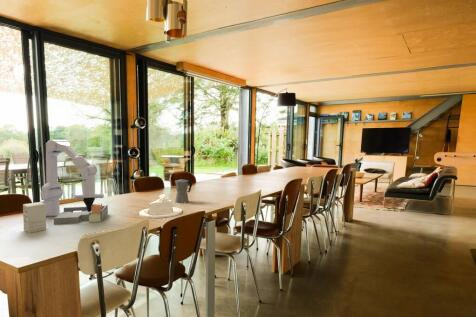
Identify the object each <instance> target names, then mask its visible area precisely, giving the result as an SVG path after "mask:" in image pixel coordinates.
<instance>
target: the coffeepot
mask: <svg viewBox="0 0 476 317" xmlns="http://www.w3.org/2000/svg"><path fill="white" fill-rule="evenodd" d="M174 183H175V189H176V196H175V203H176V202H177V203H176V204H185V203H184V202H187V203H188V202H189V196H188V193H190V192H191V189H192V187H193V186H192V185H193V182H192V181H191V180H188V179H184V176H180V179H177V180H176V179H175V180H174Z"/></svg>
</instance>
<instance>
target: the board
mask: <svg viewBox="0 0 476 317" xmlns="http://www.w3.org/2000/svg"><path fill="white" fill-rule="evenodd" d="M108 206H109V204H105V205H102V210H101V211H100V213H97V214H92V208H91V212H88V210H87V207H86V206H74V207H73V206H71V207H63V211H61V212H62V213H61V214H59V215H58V216H54V217H53V225H62V224H77V223H80V222H81V221H88V222H89V223H93V222H95V223H96V222H103V221H104V219H105V218H106V217H107V216H108V214H109V211H108V210H109V207H108Z"/></svg>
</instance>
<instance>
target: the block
mask: <svg viewBox="0 0 476 317" xmlns="http://www.w3.org/2000/svg"><path fill="white" fill-rule="evenodd" d="M102 206H103V203H93V205H92V214H97V213H100V211H101V210H102Z"/></svg>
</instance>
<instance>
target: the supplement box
mask: <svg viewBox="0 0 476 317" xmlns="http://www.w3.org/2000/svg"><path fill="white" fill-rule="evenodd" d="M22 212H23V214H22V216H23V230H24V231H25V232H26V233H28V234H30V233H35V232H40V231H45V230H47V216H46V209H45V204H44V203H41V202H40V201H39V202H38V201H37V202H31V203H24V204H22Z"/></svg>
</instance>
